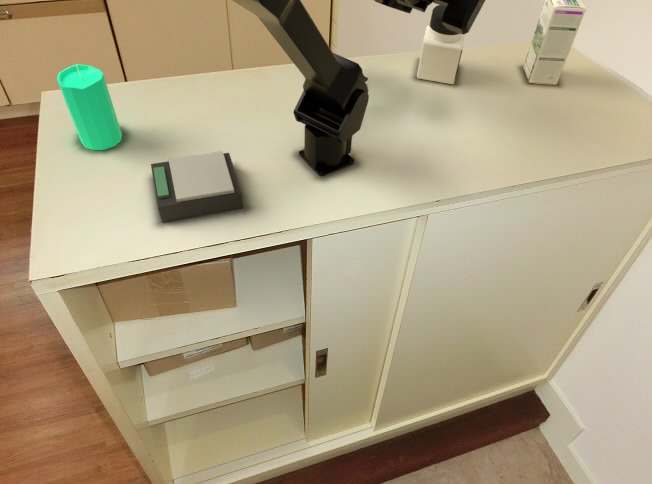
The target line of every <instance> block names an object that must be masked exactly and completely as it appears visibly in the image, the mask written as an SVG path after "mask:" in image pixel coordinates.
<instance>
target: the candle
mask: <svg viewBox="0 0 652 484" xmlns="http://www.w3.org/2000/svg"><path fill="white" fill-rule="evenodd" d="M56 81H57V83H58V86H59V89H60V91H61V94H62V96H63V99H64V102H65V105H66V108H67V110H68V112H69V114H70V117H71V120H72V122H73V125H74V128H75V130H76V132H77V136H78V138H79V141H80V143H81V144H82V146H83V147H84V148H86V149H88V150H91V151H105V150H108V149H111V148H114V147H115V146H117V145H118V144H119V143H120V142H121V141H122V138H123V133H122V129H121V126H120V124H119V120H118V117H117V113H116V110H115V107H114V104H113V101H112V97H111V94H110V92H109V88H108V84H107V81H106V77H105V75H104V73H103V71H101V69H99V68H97V67H95V66H92V65H89V64H81V63H76V64H73V65H71V66H68V67H66V68H64V69H62V70H61V71H59V72H58V74H57V78H56Z"/></svg>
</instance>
